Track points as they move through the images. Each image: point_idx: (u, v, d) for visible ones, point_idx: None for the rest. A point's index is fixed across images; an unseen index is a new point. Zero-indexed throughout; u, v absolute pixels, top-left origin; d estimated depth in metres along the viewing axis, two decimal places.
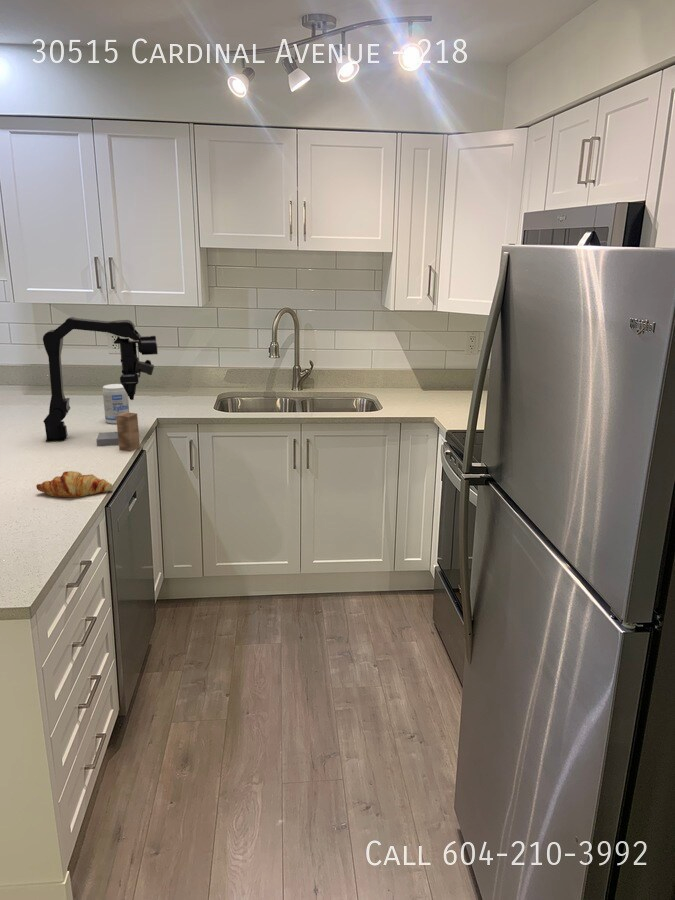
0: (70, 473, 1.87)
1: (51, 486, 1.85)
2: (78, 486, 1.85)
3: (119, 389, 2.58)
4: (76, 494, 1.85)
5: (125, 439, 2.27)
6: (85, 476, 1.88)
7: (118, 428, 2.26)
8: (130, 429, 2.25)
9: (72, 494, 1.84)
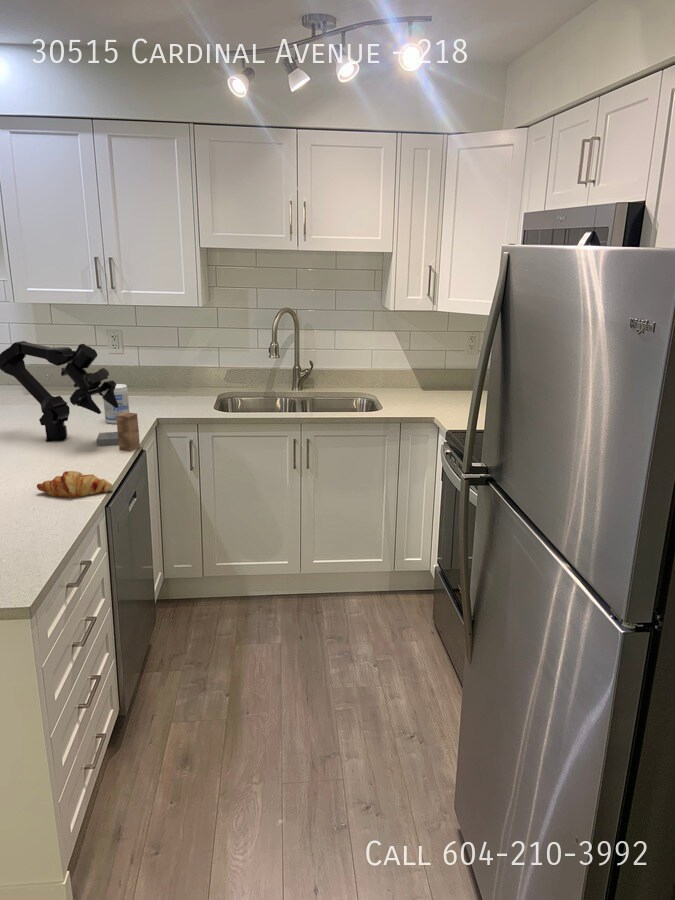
0: (70, 473, 1.87)
1: (51, 486, 1.85)
2: (78, 486, 1.85)
3: (119, 389, 2.58)
4: (76, 494, 1.85)
5: (125, 439, 2.27)
6: (85, 476, 1.88)
7: (118, 428, 2.26)
8: (130, 429, 2.25)
9: (72, 494, 1.84)
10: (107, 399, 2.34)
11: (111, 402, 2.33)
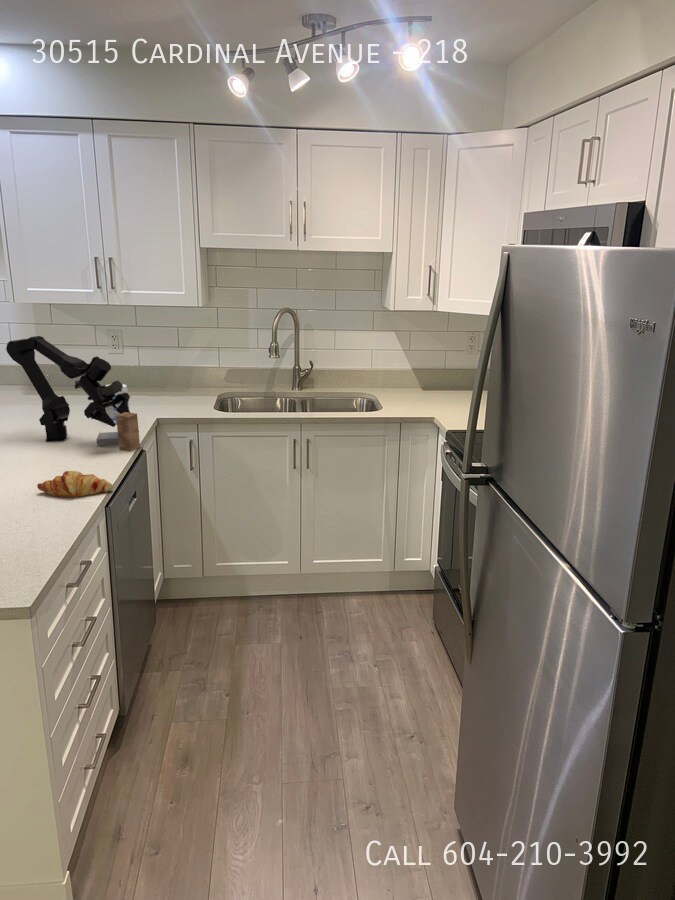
0: (70, 473, 1.87)
1: (51, 486, 1.86)
2: (78, 486, 1.85)
3: None
4: (76, 494, 1.85)
5: (125, 439, 2.27)
6: (85, 476, 1.88)
7: (118, 428, 2.26)
8: (130, 429, 2.25)
9: (72, 494, 1.85)
10: (121, 411, 2.33)
11: None
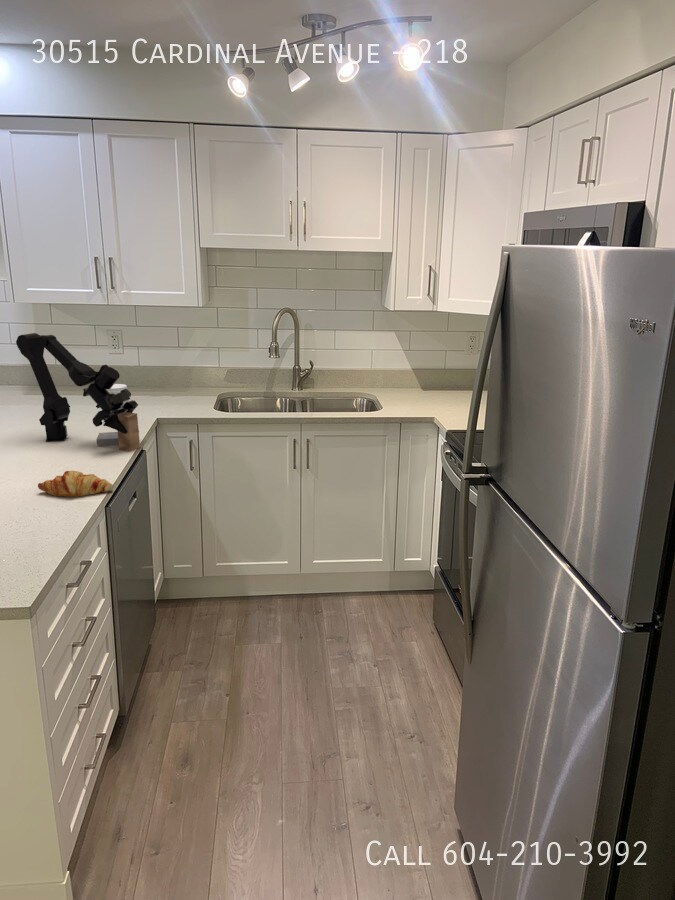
0: (71, 473, 1.87)
1: (52, 485, 1.86)
2: (78, 486, 1.85)
3: (119, 389, 2.58)
4: (76, 494, 1.85)
5: (125, 439, 2.27)
6: (86, 476, 1.88)
7: None
8: (130, 429, 2.25)
9: (72, 494, 1.85)
10: None
11: None
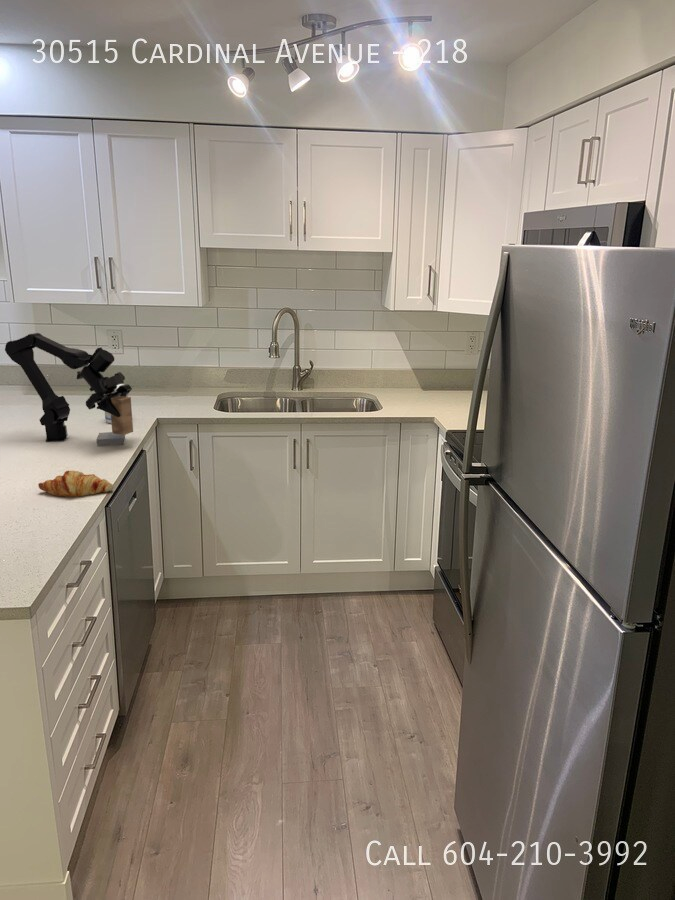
0: (71, 473, 1.87)
1: (52, 485, 1.86)
2: (78, 486, 1.85)
3: None
4: (76, 494, 1.85)
5: (118, 423, 2.27)
6: (86, 476, 1.88)
7: None
8: (123, 412, 2.25)
9: (72, 494, 1.85)
10: None
11: None
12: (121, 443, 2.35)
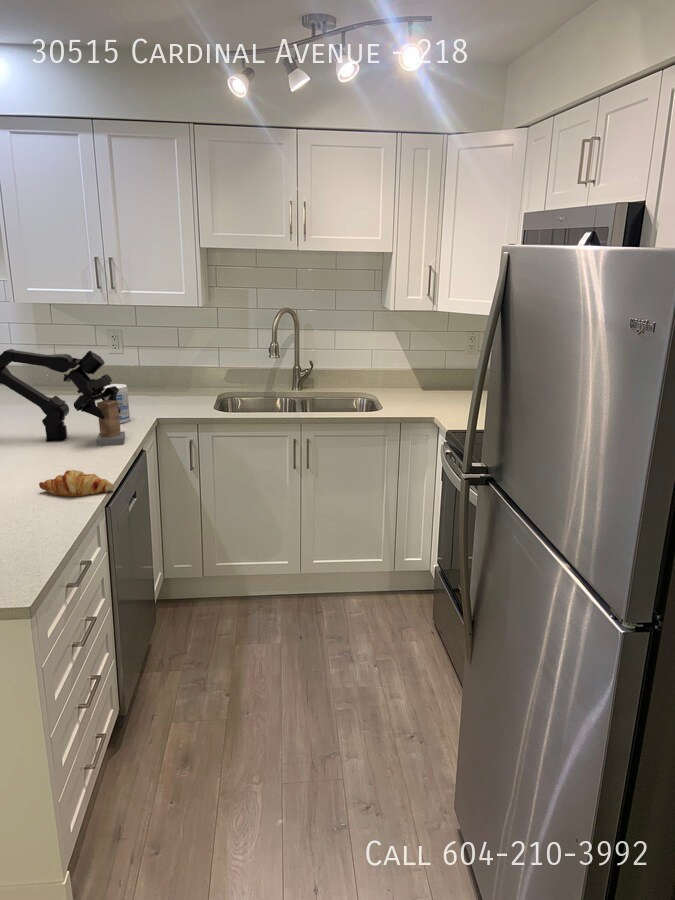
0: (72, 472, 1.87)
1: (52, 485, 1.86)
2: (78, 486, 1.85)
3: (119, 389, 2.58)
4: (76, 493, 1.86)
5: (106, 426, 2.34)
6: (86, 475, 1.88)
7: None
8: (110, 416, 2.32)
9: (72, 493, 1.85)
10: None
11: None
12: (121, 443, 2.35)
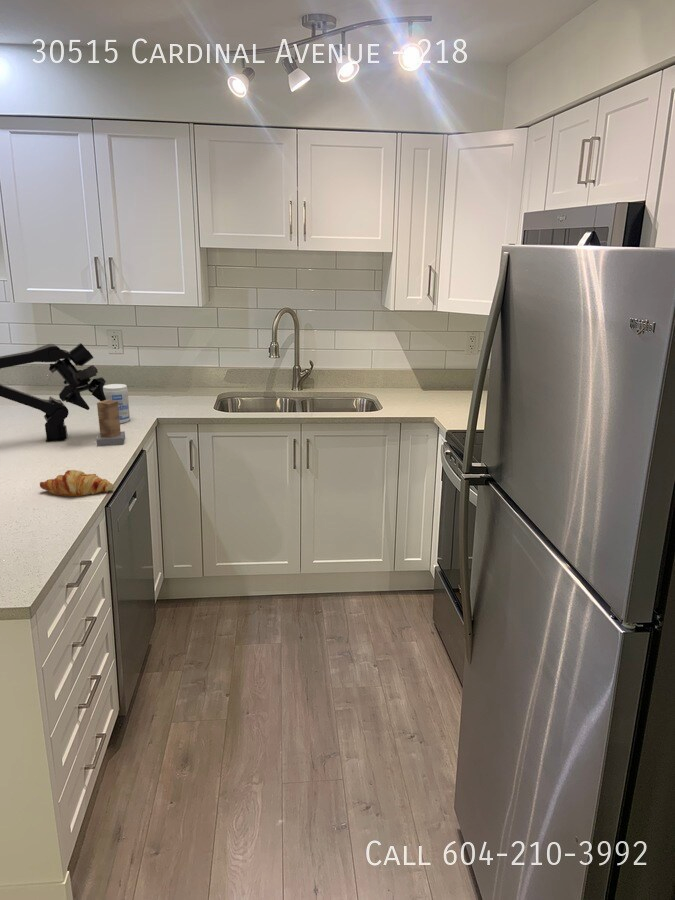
0: (72, 472, 1.88)
1: (53, 484, 1.87)
2: (78, 486, 1.85)
3: (119, 389, 2.58)
4: (77, 493, 1.86)
5: (106, 426, 2.34)
6: (87, 475, 1.88)
7: (99, 415, 2.33)
8: (110, 416, 2.32)
9: (73, 493, 1.85)
10: (96, 395, 2.40)
11: (100, 398, 2.40)
12: (121, 443, 2.35)
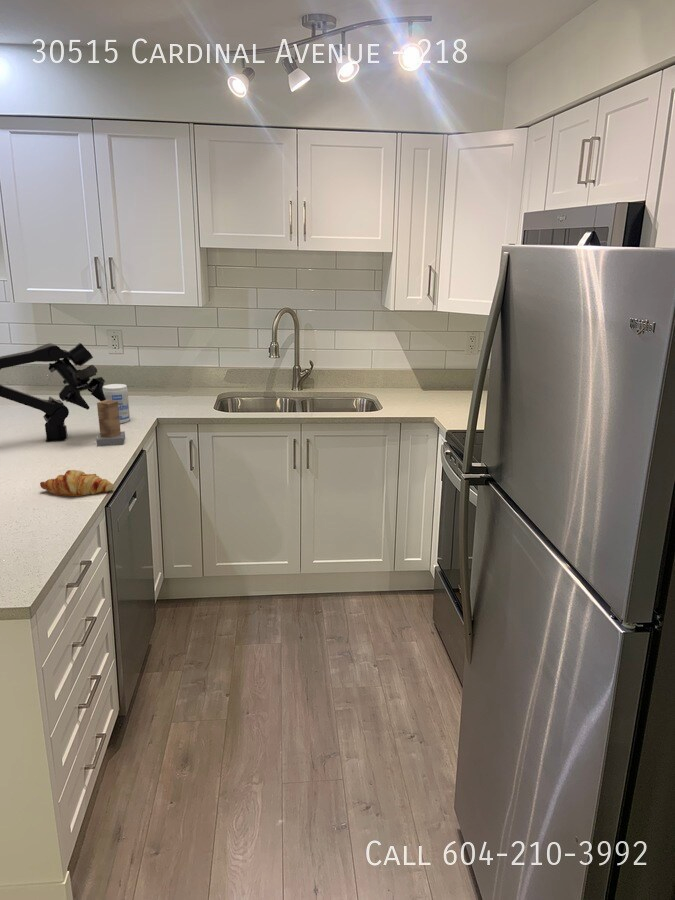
0: (72, 472, 1.88)
1: (53, 484, 1.87)
2: (78, 486, 1.85)
3: (119, 389, 2.58)
4: (77, 493, 1.86)
5: (106, 426, 2.34)
6: (87, 475, 1.89)
7: (99, 415, 2.33)
8: (110, 416, 2.32)
9: (73, 493, 1.85)
10: (96, 395, 2.41)
11: (99, 398, 2.40)
12: (121, 443, 2.35)
